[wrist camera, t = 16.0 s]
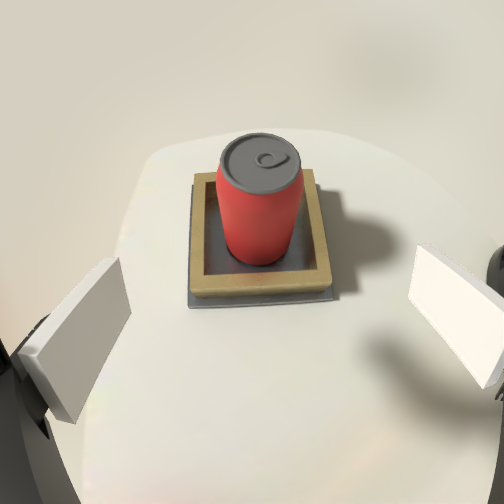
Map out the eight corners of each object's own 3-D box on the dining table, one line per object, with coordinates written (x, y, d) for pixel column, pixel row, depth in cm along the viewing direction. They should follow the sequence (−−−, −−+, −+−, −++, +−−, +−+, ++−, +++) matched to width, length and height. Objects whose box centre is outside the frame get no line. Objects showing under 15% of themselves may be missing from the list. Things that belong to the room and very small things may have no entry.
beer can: (299, 257, 30) (324, 186, 19) (234, 275, 29) (224, 210, 18) (278, 203, 32) (288, 120, 21) (218, 218, 32) (203, 137, 21)
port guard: (312, 183, 35) (318, 163, 31) (331, 300, 29) (342, 289, 25) (193, 188, 34) (187, 168, 31) (189, 308, 29) (180, 298, 25)
